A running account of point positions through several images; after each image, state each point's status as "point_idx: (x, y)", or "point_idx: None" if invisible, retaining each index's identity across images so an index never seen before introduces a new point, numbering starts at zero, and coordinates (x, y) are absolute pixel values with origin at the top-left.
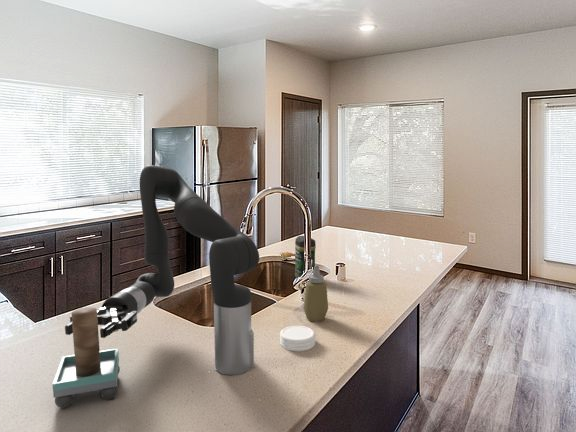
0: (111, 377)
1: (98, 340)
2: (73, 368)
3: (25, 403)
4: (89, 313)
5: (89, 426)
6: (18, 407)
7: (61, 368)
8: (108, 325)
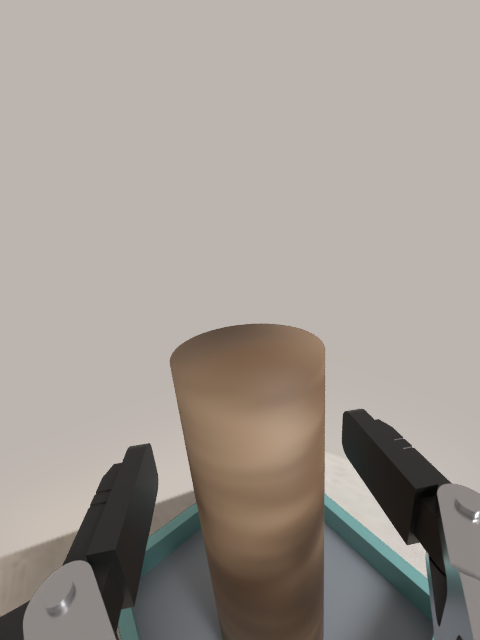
0: None
1: (204, 537)
2: (348, 596)
3: (378, 509)
4: (194, 346)
5: (167, 502)
6: None
7: (344, 524)
8: (111, 492)
